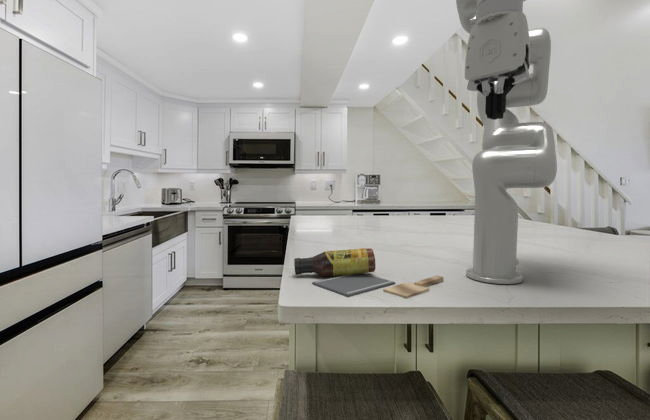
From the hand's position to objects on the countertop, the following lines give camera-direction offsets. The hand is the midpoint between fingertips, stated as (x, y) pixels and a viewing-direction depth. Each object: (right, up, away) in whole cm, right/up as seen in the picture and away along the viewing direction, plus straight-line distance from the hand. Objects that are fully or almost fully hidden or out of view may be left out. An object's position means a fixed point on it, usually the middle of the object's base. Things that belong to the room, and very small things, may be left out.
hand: (495, 118), depth 64 cm
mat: (-25, -34, +16) cm, 45 cm away
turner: (-11, -34, +13) cm, 38 cm away
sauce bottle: (-19, -30, +23) cm, 42 cm away
